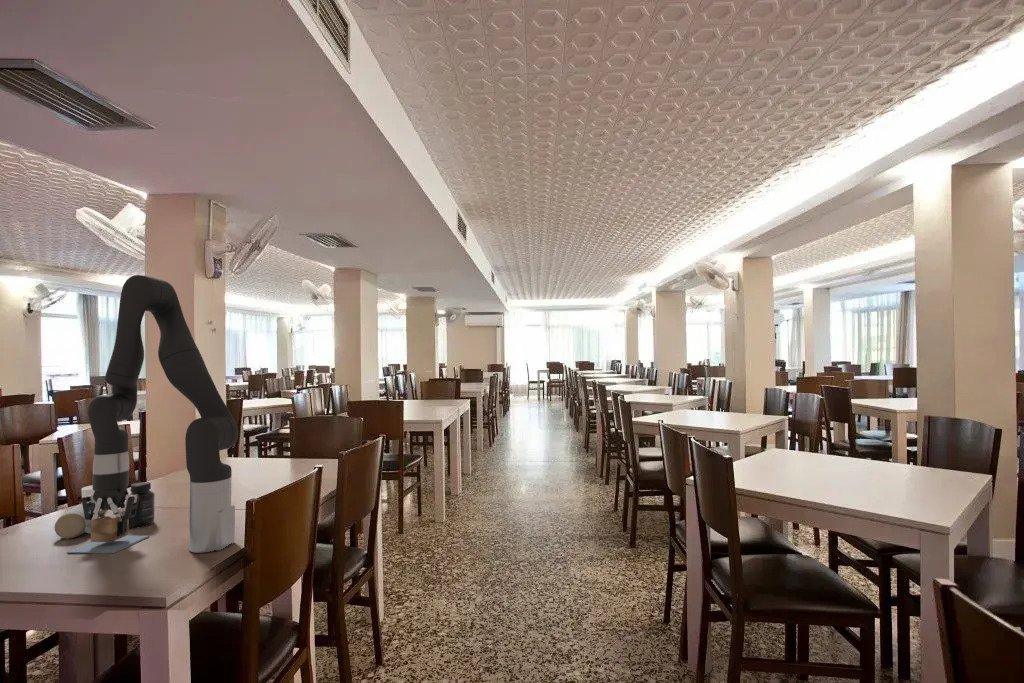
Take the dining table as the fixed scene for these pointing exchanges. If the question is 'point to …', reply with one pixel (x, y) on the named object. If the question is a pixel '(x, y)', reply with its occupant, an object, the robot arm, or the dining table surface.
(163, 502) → the dining table surface
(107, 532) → the walnut block
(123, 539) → the slate mat
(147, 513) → the supplement bottle
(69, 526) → the ceramic mug
